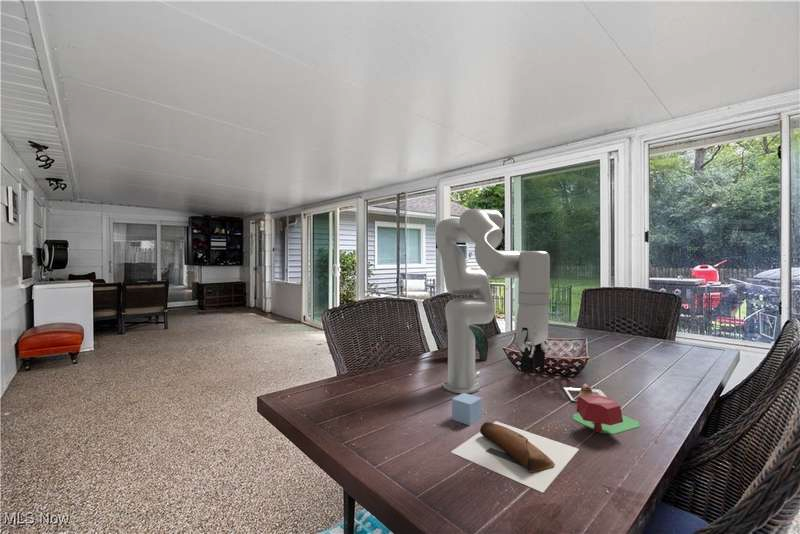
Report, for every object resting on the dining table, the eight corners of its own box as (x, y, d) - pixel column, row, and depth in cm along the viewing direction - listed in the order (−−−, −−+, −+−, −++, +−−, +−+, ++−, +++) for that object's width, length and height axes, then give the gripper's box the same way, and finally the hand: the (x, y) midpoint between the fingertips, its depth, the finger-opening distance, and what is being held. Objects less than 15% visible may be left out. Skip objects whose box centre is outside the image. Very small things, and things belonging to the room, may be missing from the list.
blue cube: (463, 412, 109) (463, 392, 109) (481, 418, 105) (481, 398, 105) (452, 419, 105) (452, 398, 104) (470, 425, 101) (470, 404, 100)
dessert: (612, 406, 114) (613, 391, 114) (571, 403, 117) (571, 388, 116) (600, 392, 126) (600, 379, 126) (562, 390, 128) (562, 376, 128)
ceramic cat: (443, 359, 164) (443, 315, 164) (443, 356, 171) (443, 313, 170) (488, 361, 161) (488, 316, 160) (487, 357, 167) (487, 314, 167)
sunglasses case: (558, 463, 81) (546, 441, 79) (536, 486, 79) (524, 463, 77) (506, 428, 97) (495, 409, 96) (487, 446, 95) (475, 426, 94)
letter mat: (495, 421, 103) (495, 421, 103) (579, 449, 88) (579, 448, 88) (450, 452, 87) (450, 451, 87) (543, 493, 72) (543, 492, 72)
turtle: (554, 419, 104) (554, 388, 104) (603, 407, 112) (603, 378, 112) (601, 444, 91) (602, 408, 90) (653, 428, 99) (654, 395, 98)
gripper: (533, 295, 103) (532, 359, 103) (504, 301, 90) (503, 373, 90) (560, 297, 97) (560, 364, 98) (534, 303, 85) (533, 380, 85)
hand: (533, 368), depth 94 cm, fingers open, 5 cm apart
